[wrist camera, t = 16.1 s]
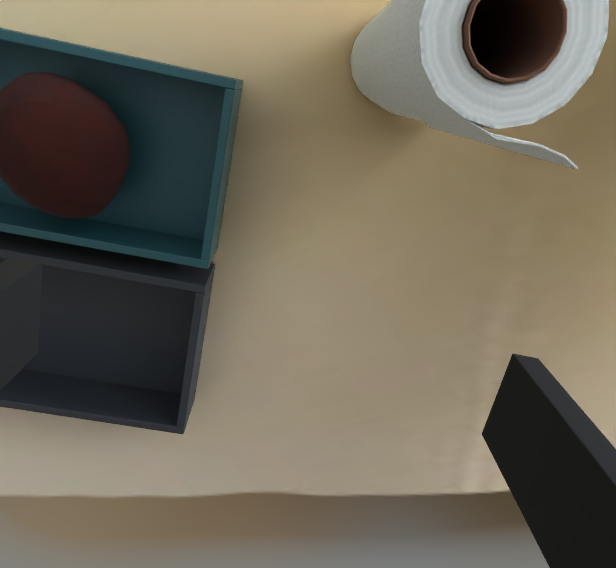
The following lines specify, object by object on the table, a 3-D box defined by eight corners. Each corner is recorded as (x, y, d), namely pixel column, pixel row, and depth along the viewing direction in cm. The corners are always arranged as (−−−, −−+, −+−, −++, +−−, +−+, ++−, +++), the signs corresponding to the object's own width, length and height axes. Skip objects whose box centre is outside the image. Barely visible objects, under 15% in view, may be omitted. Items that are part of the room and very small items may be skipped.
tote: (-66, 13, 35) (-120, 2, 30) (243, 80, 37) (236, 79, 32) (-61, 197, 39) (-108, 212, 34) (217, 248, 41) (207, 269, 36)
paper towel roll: (353, 8, 36) (433, -95, 15) (444, 14, 36) (638, -80, 16) (344, 122, 38) (403, 161, 18) (429, 127, 38) (582, 170, 18)
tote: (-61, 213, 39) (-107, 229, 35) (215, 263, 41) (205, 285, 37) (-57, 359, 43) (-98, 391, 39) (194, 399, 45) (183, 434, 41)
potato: (64, 221, 39) (13, 252, 32) (-3, 95, 36) (-76, 96, 29) (165, 184, 39) (136, 206, 31) (106, 51, 36) (59, 42, 28)
